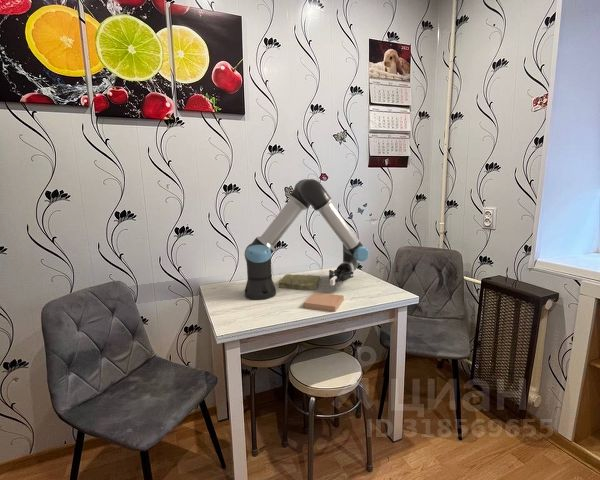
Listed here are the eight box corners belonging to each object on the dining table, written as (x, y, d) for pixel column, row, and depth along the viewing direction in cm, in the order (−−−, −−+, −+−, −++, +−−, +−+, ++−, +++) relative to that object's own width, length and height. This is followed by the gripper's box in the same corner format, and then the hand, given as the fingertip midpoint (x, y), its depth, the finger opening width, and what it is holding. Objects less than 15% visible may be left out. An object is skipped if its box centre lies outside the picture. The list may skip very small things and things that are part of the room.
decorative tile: (285, 279, 184) (285, 273, 183) (320, 280, 180) (320, 274, 179) (276, 289, 166) (276, 283, 165) (315, 291, 162) (315, 284, 161)
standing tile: (314, 297, 153) (303, 308, 140) (314, 292, 153) (303, 302, 140) (343, 301, 148) (335, 312, 135) (343, 295, 148) (335, 306, 135)
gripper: (357, 277, 169) (345, 292, 148) (333, 275, 174) (318, 289, 153) (357, 263, 168) (345, 276, 147) (333, 262, 173) (318, 273, 152)
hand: (331, 282), depth 150 cm, fingers closed
